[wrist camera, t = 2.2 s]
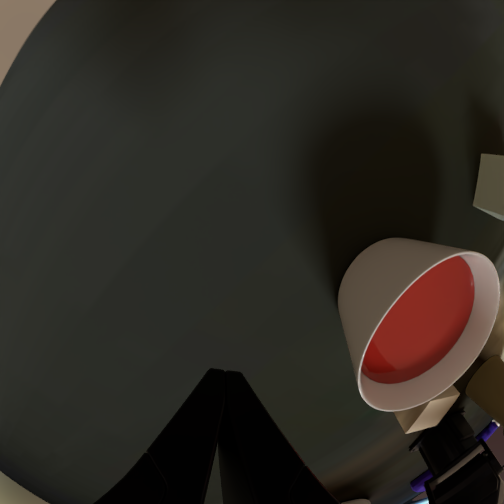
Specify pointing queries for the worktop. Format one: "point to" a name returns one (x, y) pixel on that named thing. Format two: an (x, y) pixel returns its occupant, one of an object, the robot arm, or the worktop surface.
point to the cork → (489, 388)
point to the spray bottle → (419, 482)
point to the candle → (415, 318)
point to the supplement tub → (357, 501)
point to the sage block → (490, 186)
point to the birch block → (427, 411)
